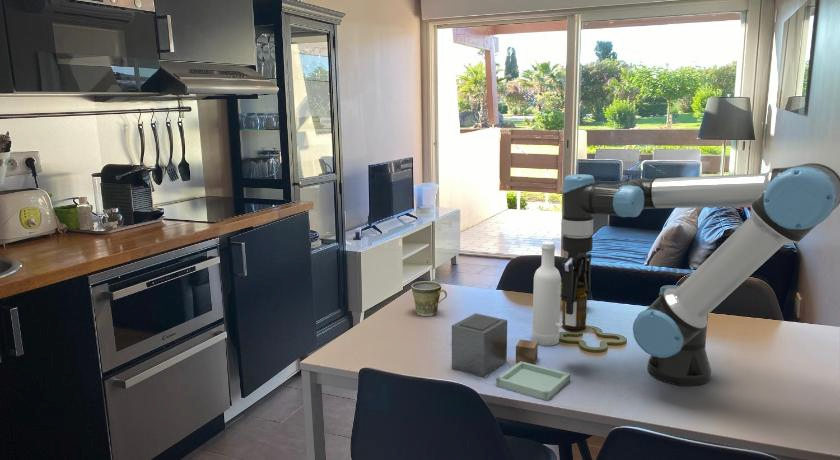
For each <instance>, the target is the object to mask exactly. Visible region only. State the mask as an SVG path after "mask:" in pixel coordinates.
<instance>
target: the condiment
mask: <svg viewBox="0 0 840 460" xmlns="http://www.w3.org/2000/svg"><path fill="white" fill-rule="evenodd" d="M586 295H587V294H586V293H585V283H584V282H581V281H578V283H577V290H576V297H575V301H576V302H577V310H576V326H575V327H574V326H569V325H565V302H566V301H563V308H562V313H561V314H562V317H561V320H562V322H560V323H556V325H558V326H559V329H560V328H561V329H562V330H563V331H565V332H567V333H568V334H570V335H571V334H573V335H574V334H575V335H576V334H587V333H592V332H596V330H595V329H593V328H592V327H591V326H589V325H586V324H587V323H586V322H587V313H588V312H587V310H586V308H587V307H586V302H588V300H587V299H588V298H587V297H588V295H587V296H586ZM586 298H587V299H586Z"/></svg>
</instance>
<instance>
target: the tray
mask: <svg viewBox="0 0 840 460" xmlns="http://www.w3.org/2000/svg"><path fill="white" fill-rule="evenodd" d="M570 382H571V373H567V372H563V371H561V370H557V369H553V368H552V369H551V368H548V367H544V366H540V365H538V364H534V365H533V364H530V363H526V362H522V361H520V362H519V363H515V364H514V365H513V366H512V367H510V368H509V369H507V370H506V371H505V372H503V373H502V374H500V375H498V377H496V379H495V386H496V387H499V388H502V389H504V390H509V391H512V392H517V393H519V394H523V395H527V396H530V397H532V398H537V399H539V400H543V401H546V402H547V401H548V402H549V400H551V399H552V398H553V397H554V396H555V395H556V394H558V392H560V391H561V390H562V389H563V388H564V387H565V386H566V385H568V384H569V383H570Z"/></svg>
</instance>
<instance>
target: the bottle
mask: <svg viewBox="0 0 840 460" xmlns="http://www.w3.org/2000/svg"><path fill="white" fill-rule="evenodd" d="M540 248H541V265H540V266H539V267H538V268H537V269H536V270H535V272H534V276H533V295H532V296H533V297H532V302H533V303H532V329H531V336H532V337H531V339H532V340H531V341H536V342H538V346H544V347H547V346H549V347H551V346H555V345H558V343H559V342H560V327H559V326H558V325H556V323H561V322H560V319H561V283H562V277H561V273H560V271H559V269H558V268H557V267H556V266H555V256H556V255H555V253H556V244H555V242H554V241H550V240H546V241H542V243H541V247H540Z"/></svg>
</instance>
